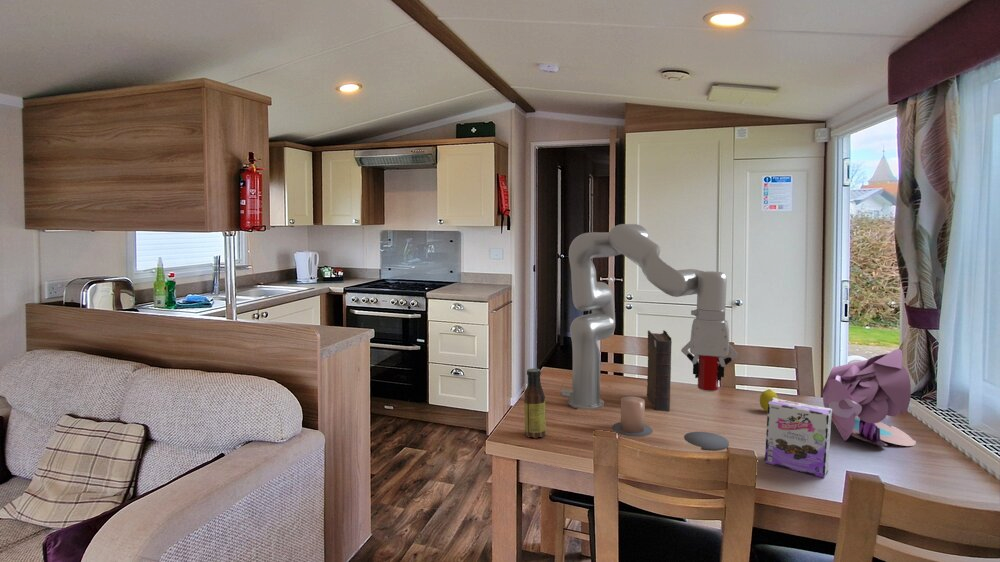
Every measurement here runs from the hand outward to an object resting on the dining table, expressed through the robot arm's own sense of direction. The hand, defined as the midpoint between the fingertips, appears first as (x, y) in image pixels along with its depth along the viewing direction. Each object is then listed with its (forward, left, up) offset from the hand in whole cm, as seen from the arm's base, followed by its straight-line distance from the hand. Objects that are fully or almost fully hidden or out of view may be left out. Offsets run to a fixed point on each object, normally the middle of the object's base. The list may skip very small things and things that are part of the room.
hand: (708, 377), depth 151 cm
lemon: (+18, +34, -19) cm, 43 cm away
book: (-17, +28, -19) cm, 38 cm away
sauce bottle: (-47, -15, -19) cm, 53 cm away
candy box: (+22, -8, -19) cm, 30 cm away
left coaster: (-21, 0, -19) cm, 28 cm away
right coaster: (0, 0, -19) cm, 19 cm away
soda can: (0, 0, -4) cm, 4 cm away
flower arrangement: (+46, +26, -19) cm, 56 cm away
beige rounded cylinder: (-21, 0, -18) cm, 28 cm away
